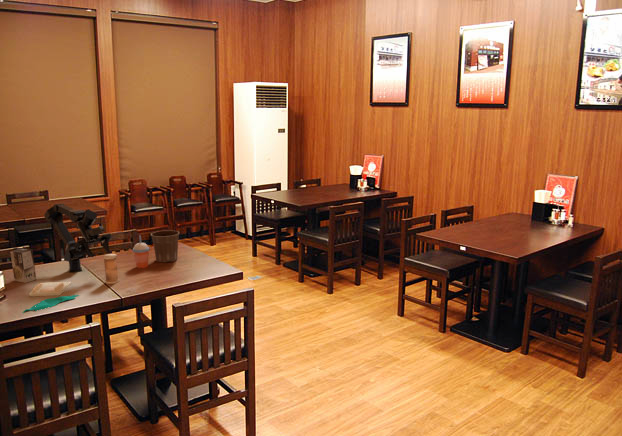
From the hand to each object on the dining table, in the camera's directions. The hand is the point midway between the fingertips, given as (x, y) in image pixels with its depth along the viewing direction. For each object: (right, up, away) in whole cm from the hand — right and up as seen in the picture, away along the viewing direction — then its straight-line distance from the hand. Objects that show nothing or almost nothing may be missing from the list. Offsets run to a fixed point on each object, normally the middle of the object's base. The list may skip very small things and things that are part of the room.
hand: (101, 254), depth 263 cm
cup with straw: (+14, -9, +23) cm, 28 cm away
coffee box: (-40, -14, +1) cm, 42 cm away
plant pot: (+24, -6, +36) cm, 44 cm away
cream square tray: (-19, -16, -13) cm, 28 cm away
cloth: (-10, -21, -30) cm, 38 cm away
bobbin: (+7, -14, -2) cm, 15 cm away
